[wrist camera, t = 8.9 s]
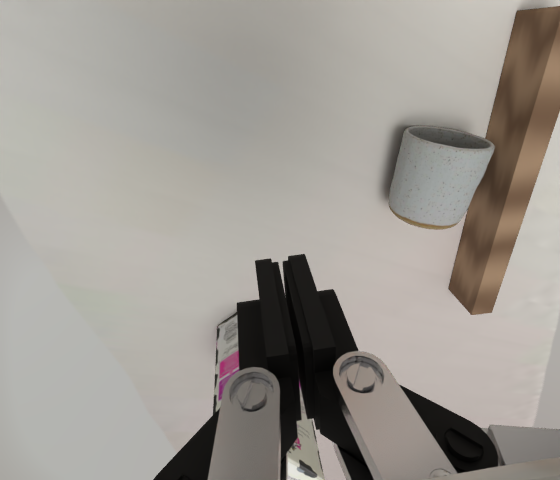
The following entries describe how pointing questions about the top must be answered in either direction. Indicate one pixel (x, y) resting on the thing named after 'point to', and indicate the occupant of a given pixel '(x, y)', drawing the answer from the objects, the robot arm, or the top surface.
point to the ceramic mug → (437, 175)
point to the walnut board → (510, 157)
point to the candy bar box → (304, 451)
